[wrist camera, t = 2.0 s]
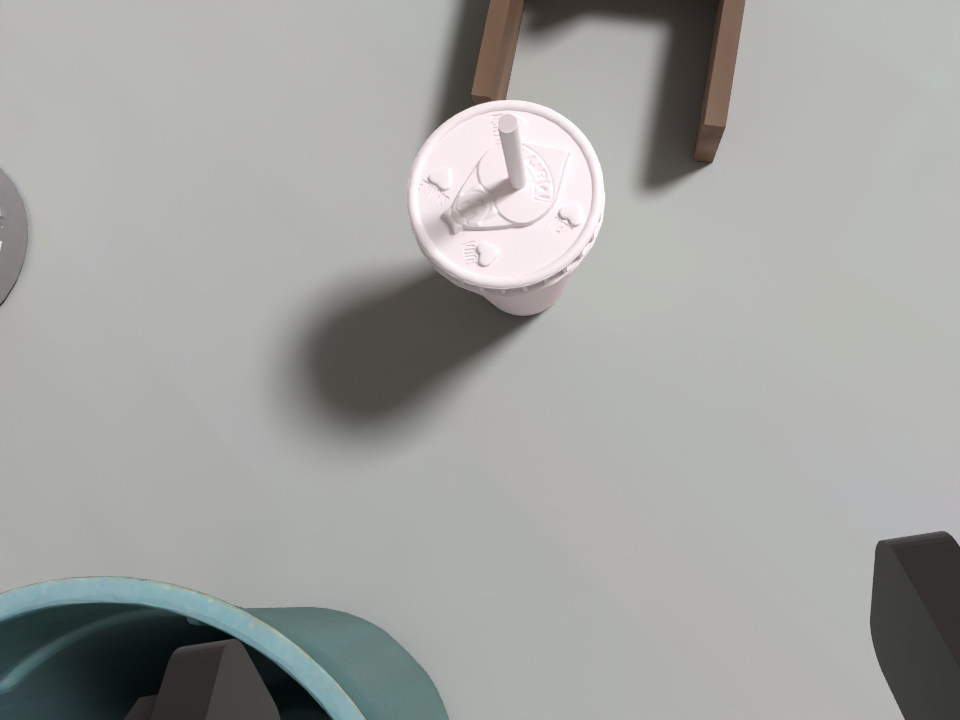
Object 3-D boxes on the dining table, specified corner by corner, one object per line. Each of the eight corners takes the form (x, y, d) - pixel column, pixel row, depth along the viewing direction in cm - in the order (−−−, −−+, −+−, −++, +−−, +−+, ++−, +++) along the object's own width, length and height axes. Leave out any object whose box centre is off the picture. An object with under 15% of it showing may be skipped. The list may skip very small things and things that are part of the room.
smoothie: (629, 297, 37) (657, 167, 23) (496, 376, 37) (445, 293, 23) (549, 174, 38) (531, -19, 24) (421, 250, 38) (331, 101, 24)
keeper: (480, 131, 39) (462, 63, 33) (516, -48, 40) (505, -145, 34) (712, 162, 37) (736, 96, 31) (741, -25, 38) (770, -122, 33)
